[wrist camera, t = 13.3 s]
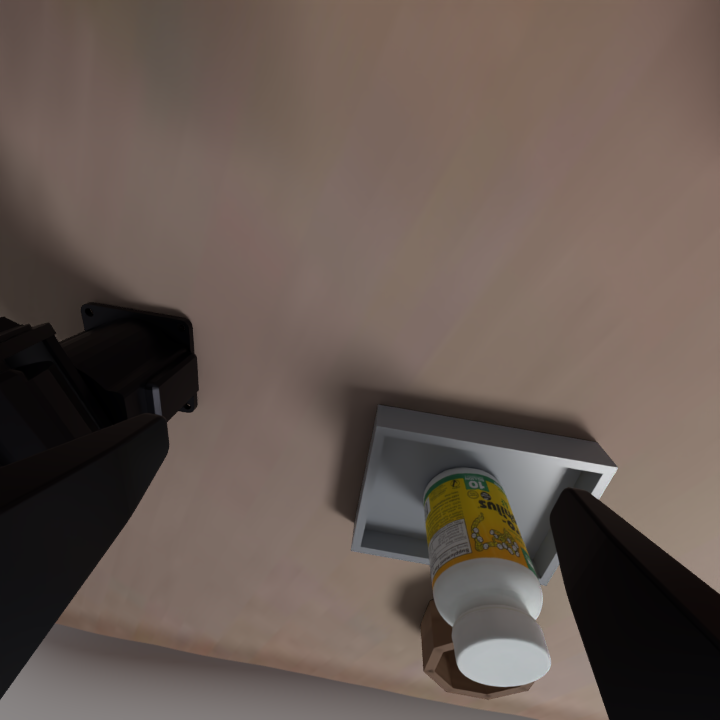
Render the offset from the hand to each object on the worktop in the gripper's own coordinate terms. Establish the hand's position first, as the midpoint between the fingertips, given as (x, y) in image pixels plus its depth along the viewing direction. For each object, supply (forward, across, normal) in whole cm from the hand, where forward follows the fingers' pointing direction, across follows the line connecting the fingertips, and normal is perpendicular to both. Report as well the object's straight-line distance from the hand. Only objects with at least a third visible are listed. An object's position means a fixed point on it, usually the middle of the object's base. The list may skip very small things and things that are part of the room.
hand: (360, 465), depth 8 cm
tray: (+13, -8, +12) cm, 19 cm away
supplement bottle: (+12, -8, +12) cm, 19 cm away
